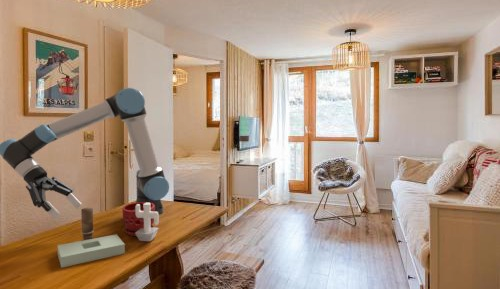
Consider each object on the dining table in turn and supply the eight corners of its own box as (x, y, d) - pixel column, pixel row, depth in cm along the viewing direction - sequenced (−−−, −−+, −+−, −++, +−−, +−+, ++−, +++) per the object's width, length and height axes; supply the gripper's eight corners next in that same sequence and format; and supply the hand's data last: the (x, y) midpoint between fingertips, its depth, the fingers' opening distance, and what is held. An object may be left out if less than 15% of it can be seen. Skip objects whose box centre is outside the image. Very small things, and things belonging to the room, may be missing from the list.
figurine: (155, 242, 125) (155, 205, 124) (132, 241, 125) (131, 205, 124) (161, 236, 132) (161, 201, 131) (139, 235, 133) (139, 200, 131)
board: (116, 242, 124) (116, 234, 124) (124, 253, 115) (124, 244, 114) (57, 254, 112) (57, 245, 112) (61, 267, 103) (60, 257, 102)
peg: (92, 238, 129) (92, 207, 128) (94, 241, 125) (94, 209, 124) (80, 240, 126) (79, 208, 125) (82, 243, 123) (81, 211, 122)
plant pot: (124, 229, 140) (124, 202, 139) (155, 226, 144) (155, 201, 143) (121, 239, 127) (120, 210, 127) (154, 237, 131) (154, 208, 130)
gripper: (48, 173, 138) (81, 208, 137) (-2, 184, 113) (39, 227, 113) (59, 162, 137) (93, 197, 137) (12, 170, 112) (53, 213, 112)
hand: (68, 211), depth 125 cm, fingers open, 13 cm apart
